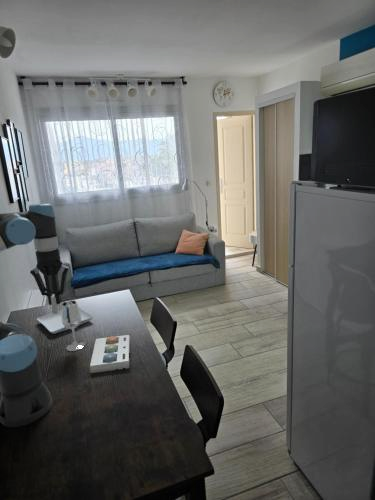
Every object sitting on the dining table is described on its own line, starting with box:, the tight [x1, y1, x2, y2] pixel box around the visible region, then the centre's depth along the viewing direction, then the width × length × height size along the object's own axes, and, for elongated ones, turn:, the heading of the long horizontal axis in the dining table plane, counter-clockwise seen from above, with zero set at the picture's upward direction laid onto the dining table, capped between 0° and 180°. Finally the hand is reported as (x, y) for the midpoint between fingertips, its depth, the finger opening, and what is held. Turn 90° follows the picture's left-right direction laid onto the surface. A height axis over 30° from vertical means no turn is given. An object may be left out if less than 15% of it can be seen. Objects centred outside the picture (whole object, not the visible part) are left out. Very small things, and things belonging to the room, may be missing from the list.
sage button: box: [105, 344, 117, 353], centre depth 130 cm, size 4×4×3 cm
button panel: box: [89, 334, 131, 374], centre depth 130 cm, size 20×14×3 cm
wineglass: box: [61, 300, 86, 352], centre depth 136 cm, size 8×8×20 cm
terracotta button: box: [106, 335, 118, 345], centre depth 136 cm, size 4×4×3 cm
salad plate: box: [36, 306, 94, 334], centre depth 161 cm, size 21×21×3 cm
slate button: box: [104, 353, 116, 363], centre depth 124 cm, size 4×4×3 cm
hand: (56, 312), depth 117 cm, fingers closed
